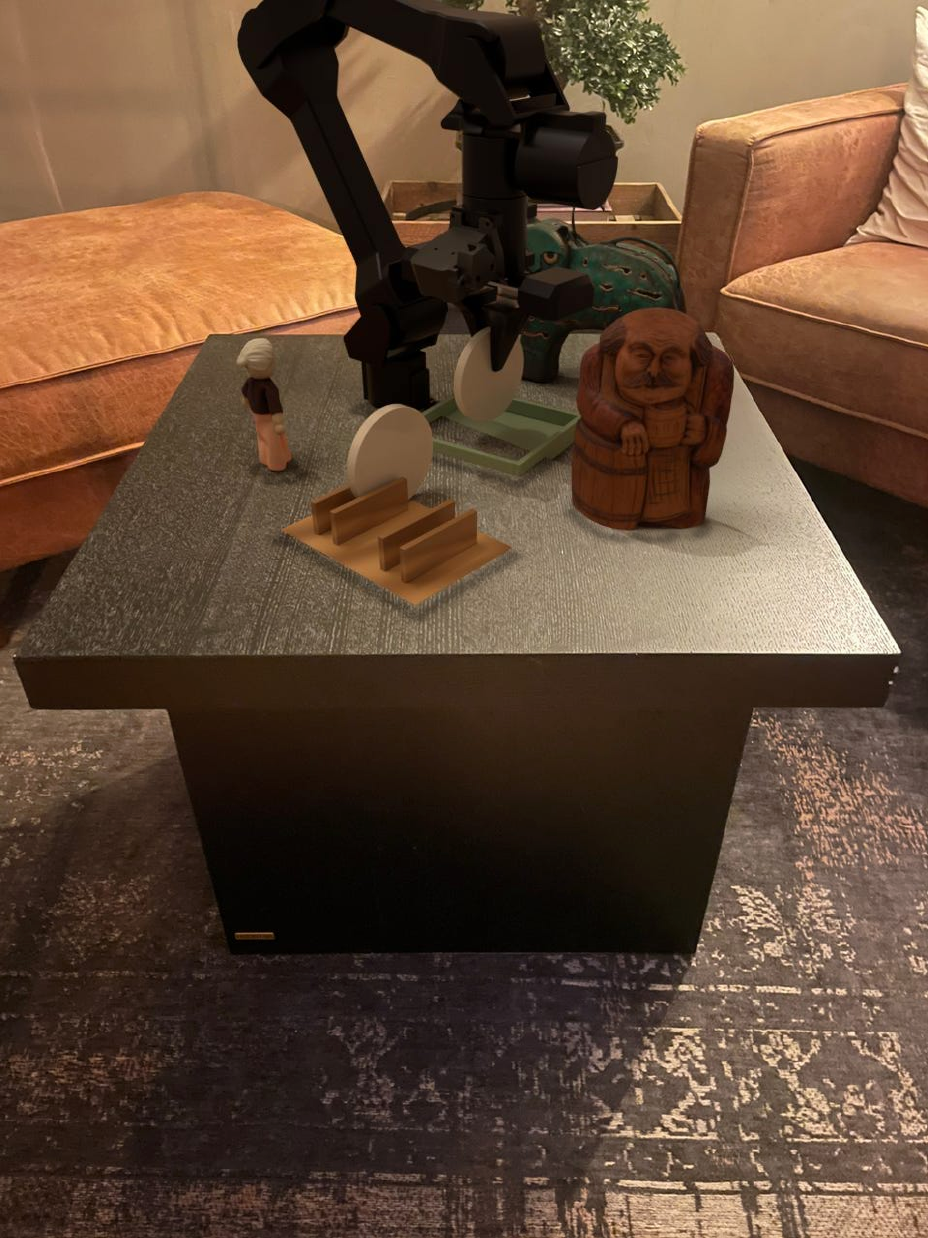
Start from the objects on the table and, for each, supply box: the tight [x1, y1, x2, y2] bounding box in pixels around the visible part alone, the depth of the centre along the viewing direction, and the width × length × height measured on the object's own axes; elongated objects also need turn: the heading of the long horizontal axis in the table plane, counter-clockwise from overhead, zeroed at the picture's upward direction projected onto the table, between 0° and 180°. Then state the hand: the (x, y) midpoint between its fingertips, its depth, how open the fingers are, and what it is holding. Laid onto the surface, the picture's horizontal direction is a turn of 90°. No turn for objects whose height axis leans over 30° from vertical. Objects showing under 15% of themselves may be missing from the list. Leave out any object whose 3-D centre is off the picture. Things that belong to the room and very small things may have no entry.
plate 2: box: [453, 326, 524, 422], centre depth 88 cm, size 1×9×9 cm, turn 137°
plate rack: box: [280, 477, 513, 606], centre depth 75 cm, size 16×11×4 cm
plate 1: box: [346, 404, 434, 500], centre depth 77 cm, size 1×9×9 cm
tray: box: [421, 393, 581, 478], centre depth 91 cm, size 14×13×2 cm
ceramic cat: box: [519, 204, 688, 384], centre depth 97 cm, size 20×6×20 cm, turn 58°
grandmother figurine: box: [235, 337, 293, 472], centre depth 83 cm, size 8×4×13 cm, turn 47°
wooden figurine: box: [571, 307, 735, 531], centre depth 74 cm, size 12×6×18 cm, turn 89°
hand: (491, 368), depth 88 cm, fingers closed on plate 2, 1 cm apart
